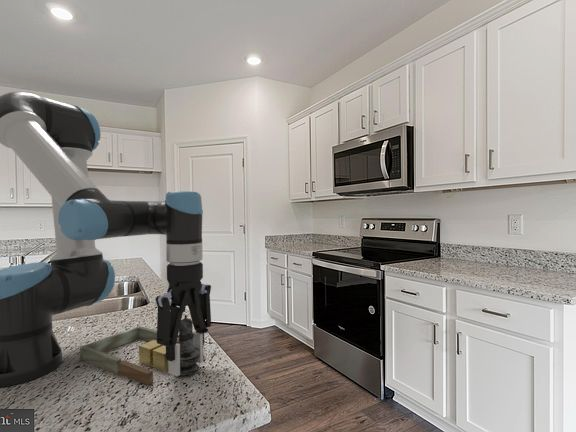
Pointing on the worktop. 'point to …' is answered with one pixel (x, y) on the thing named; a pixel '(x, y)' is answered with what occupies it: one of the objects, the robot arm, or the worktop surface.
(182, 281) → the robot arm
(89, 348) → the frame
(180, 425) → the worktop surface
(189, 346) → the salt shaker
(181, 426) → the worktop surface
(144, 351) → the chip
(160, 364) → the tan wooden cube
